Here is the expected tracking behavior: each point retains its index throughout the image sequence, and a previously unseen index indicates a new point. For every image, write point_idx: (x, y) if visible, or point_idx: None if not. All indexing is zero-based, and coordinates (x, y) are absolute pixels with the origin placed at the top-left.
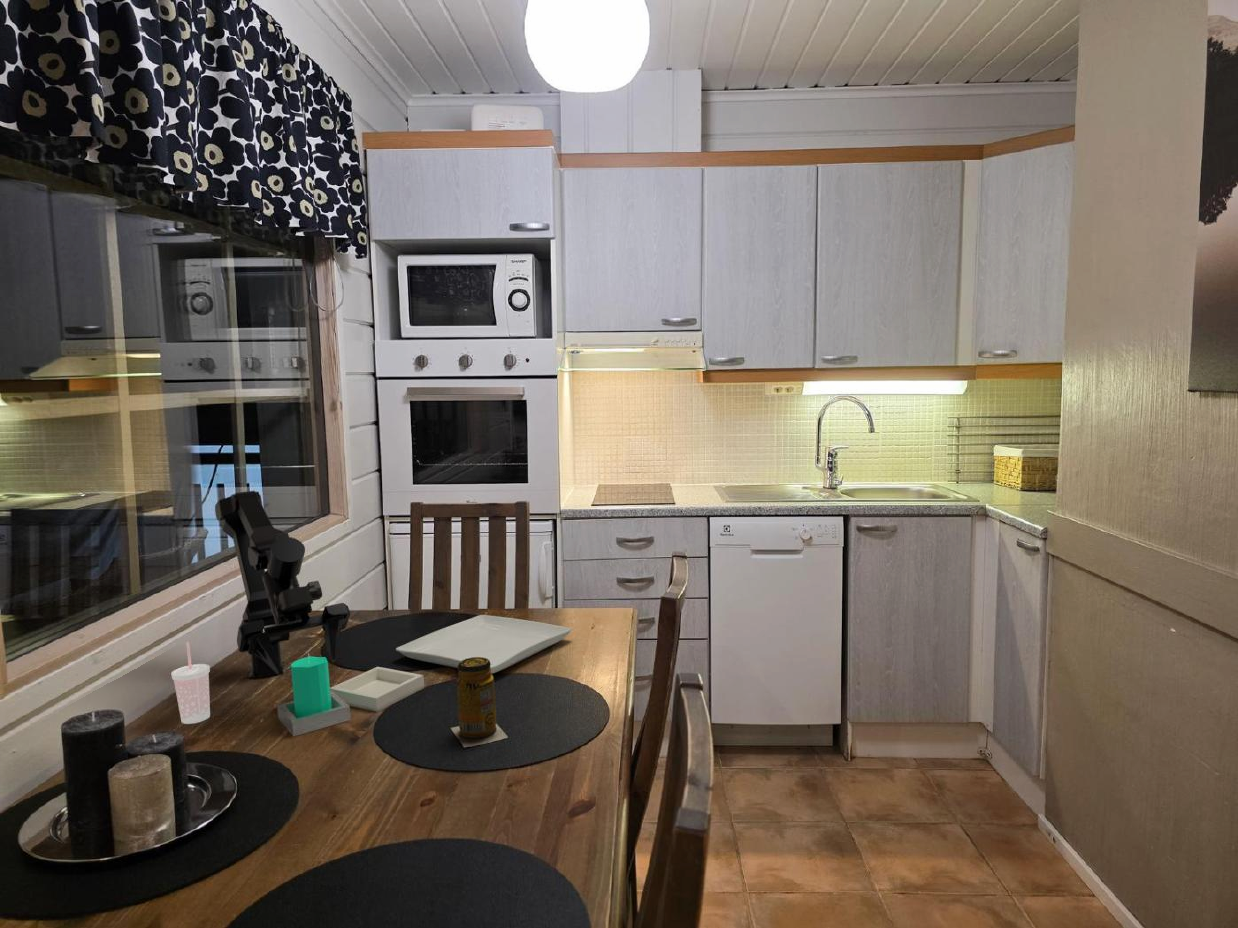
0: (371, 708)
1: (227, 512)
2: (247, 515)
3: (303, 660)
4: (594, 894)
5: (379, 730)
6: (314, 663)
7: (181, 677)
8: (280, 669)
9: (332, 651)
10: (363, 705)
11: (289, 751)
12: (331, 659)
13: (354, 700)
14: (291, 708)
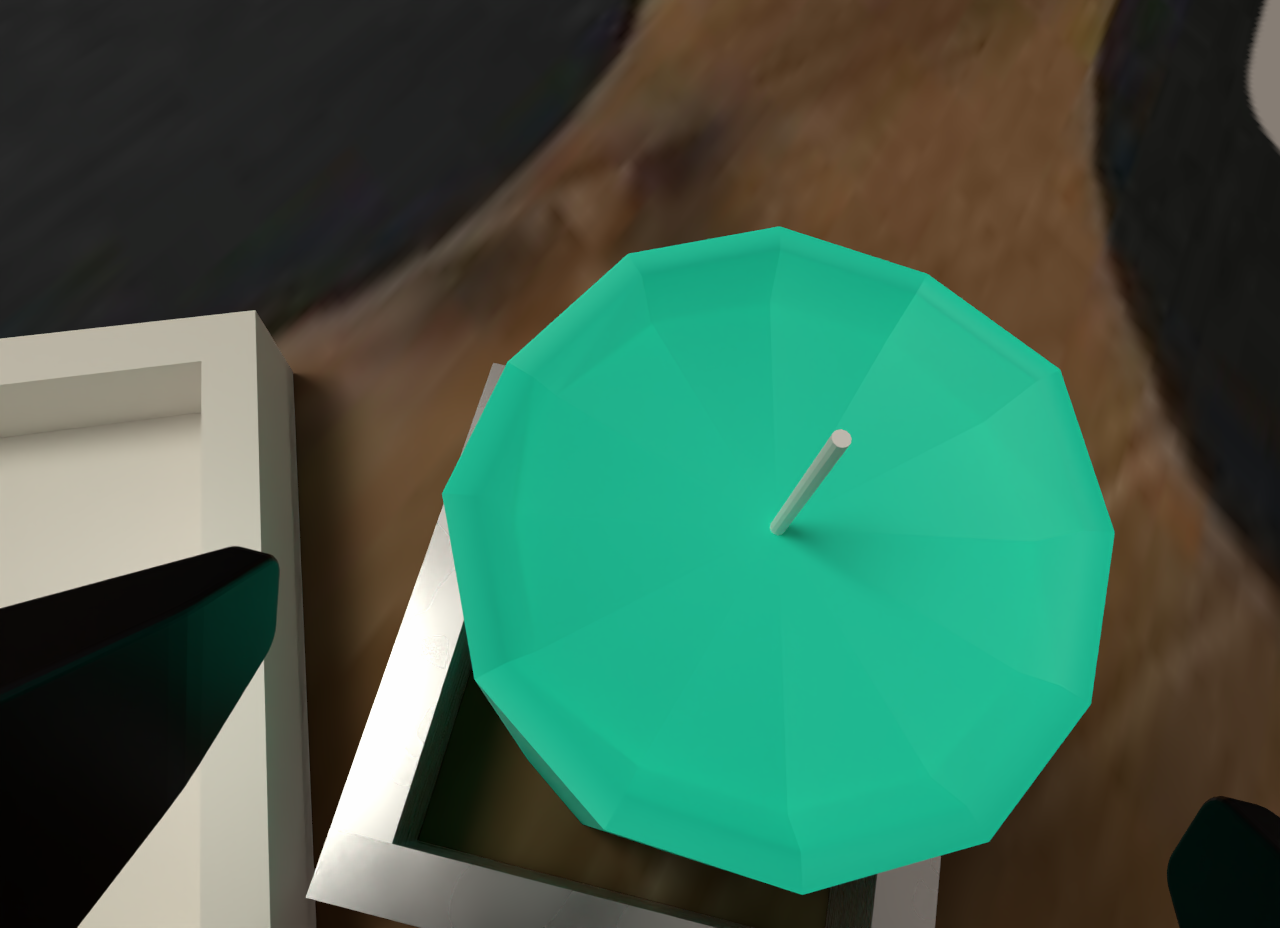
0: (289, 422)
1: None
2: None
3: (764, 821)
4: None
5: (504, 139)
6: (697, 486)
7: None
8: (1243, 821)
9: (164, 596)
10: (290, 502)
11: (1025, 344)
12: (254, 654)
13: (285, 601)
14: None
